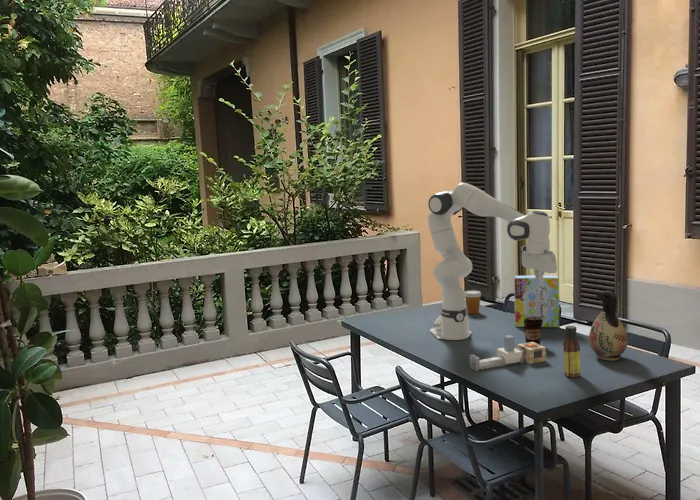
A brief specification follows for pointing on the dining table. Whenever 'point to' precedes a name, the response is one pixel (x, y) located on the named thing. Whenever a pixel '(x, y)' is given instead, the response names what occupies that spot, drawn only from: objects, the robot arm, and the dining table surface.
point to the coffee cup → (533, 329)
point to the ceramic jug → (608, 330)
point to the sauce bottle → (571, 353)
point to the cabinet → (533, 352)
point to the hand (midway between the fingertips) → (538, 280)
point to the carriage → (509, 350)
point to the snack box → (537, 299)
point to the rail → (491, 361)
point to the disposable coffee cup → (472, 301)
